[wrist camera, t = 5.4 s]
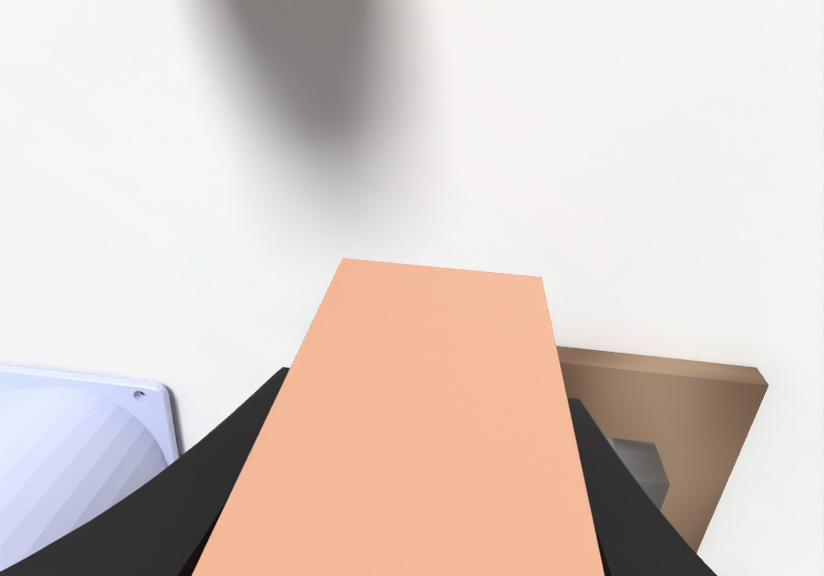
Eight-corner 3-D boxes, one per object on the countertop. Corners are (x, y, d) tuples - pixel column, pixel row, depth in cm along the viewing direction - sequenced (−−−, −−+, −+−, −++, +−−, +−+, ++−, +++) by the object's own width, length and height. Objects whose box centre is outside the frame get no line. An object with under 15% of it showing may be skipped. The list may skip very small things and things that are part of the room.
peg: (341, 412, 14) (203, 859, 7) (342, 257, 12) (155, 653, 5) (513, 432, 14) (551, 914, 7) (541, 277, 12) (635, 719, 5)
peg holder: (331, 588, 29) (316, 650, 26) (331, 321, 22) (311, 370, 19) (648, 630, 28) (666, 699, 25) (756, 367, 21) (796, 425, 18)
